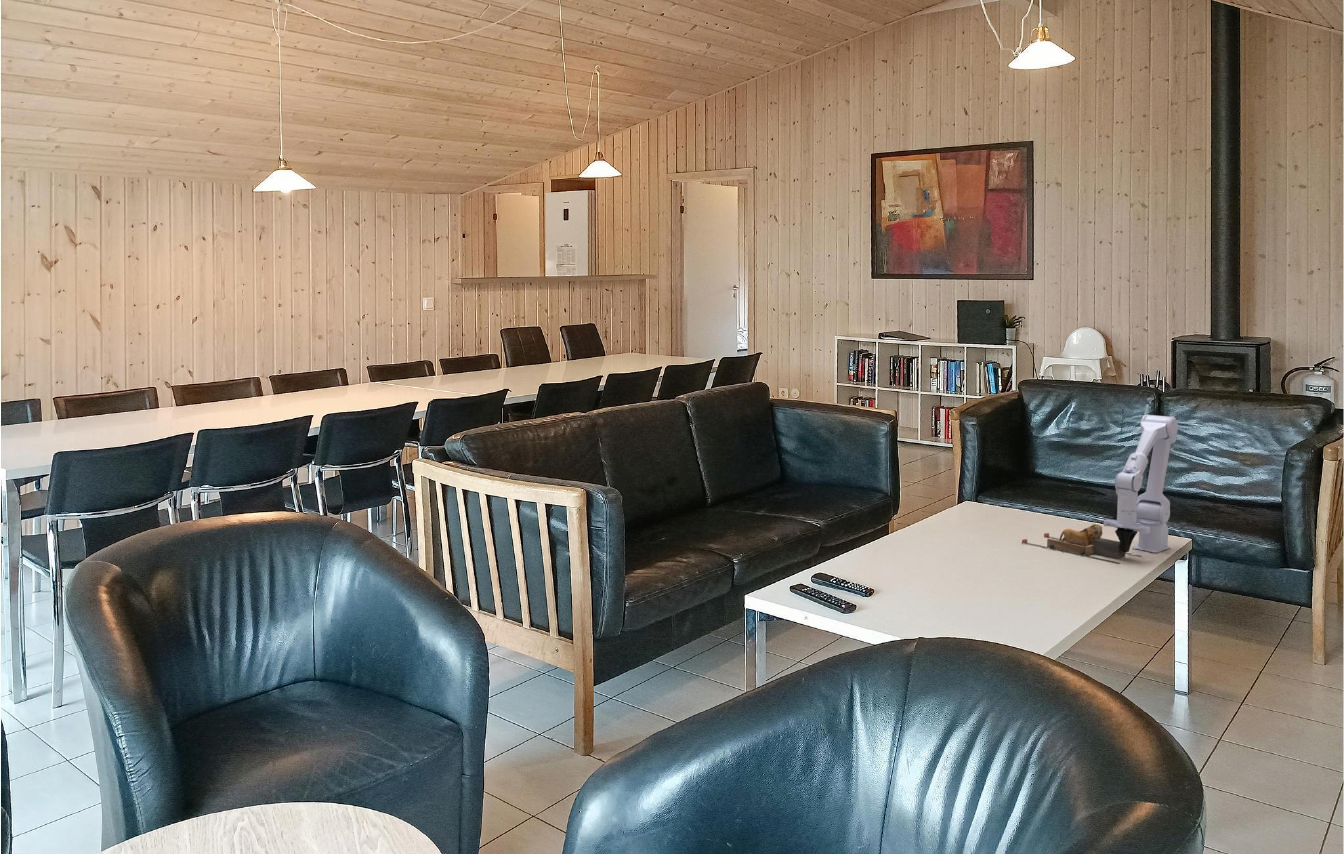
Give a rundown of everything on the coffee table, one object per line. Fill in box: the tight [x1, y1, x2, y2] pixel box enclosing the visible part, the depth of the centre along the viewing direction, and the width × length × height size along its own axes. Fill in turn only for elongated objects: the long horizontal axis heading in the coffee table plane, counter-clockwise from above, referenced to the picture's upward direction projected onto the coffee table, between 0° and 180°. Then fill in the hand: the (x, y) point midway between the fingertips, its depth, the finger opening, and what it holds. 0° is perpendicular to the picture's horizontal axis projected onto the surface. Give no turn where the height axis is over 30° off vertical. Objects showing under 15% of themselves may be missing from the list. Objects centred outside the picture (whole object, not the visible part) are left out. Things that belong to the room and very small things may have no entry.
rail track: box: [1021, 532, 1142, 565], centre depth 349 cm, size 14×35×1 cm, turn 37°
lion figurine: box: [1058, 523, 1103, 546], centre depth 348 cm, size 15×5×9 cm, turn 68°
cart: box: [1046, 537, 1126, 559], centre depth 346 cm, size 13×23×4 cm, turn 37°
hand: (1125, 551), depth 336 cm, fingers closed
